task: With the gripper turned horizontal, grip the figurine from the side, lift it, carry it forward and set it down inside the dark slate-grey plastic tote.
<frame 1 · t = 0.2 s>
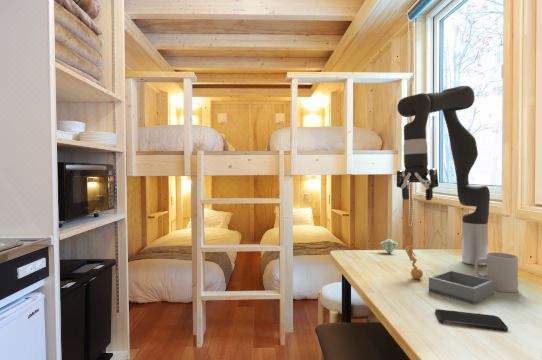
hand: (417, 199, 114), 29 cm above the table, tool pointing down, fingers open, 8 cm apart
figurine: (413, 279, 120), on the table
phone: (469, 323, 85), on the table
mug: (495, 288, 110), on the table
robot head: (389, 253, 159), on the table
tote: (460, 292, 105), on the table
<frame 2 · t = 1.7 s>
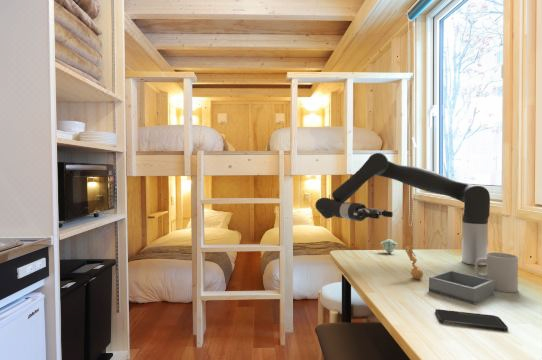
hand: (385, 215, 129), 22 cm above the table, tool horizontal, fingers open, 8 cm apart
nothing on the table moved.
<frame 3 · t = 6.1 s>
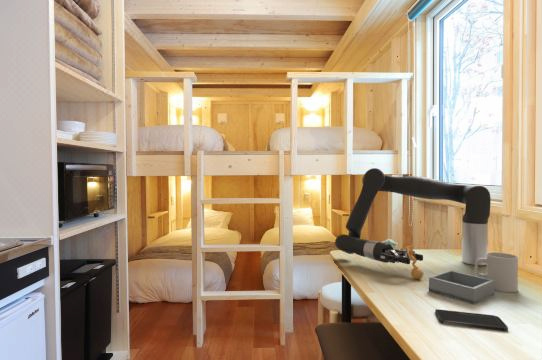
hand: (416, 259, 119), 7 cm above the table, tool horizontal, fingers closed on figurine, 7 cm apart
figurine: (413, 278, 120), on the table, touching gripper
everything else where it was.
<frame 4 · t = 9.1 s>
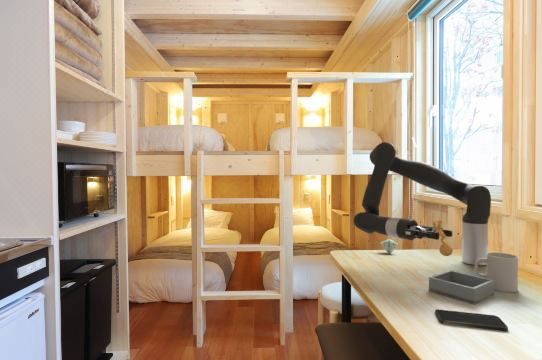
hand: (445, 235, 109), 18 cm above the table, tool horizontal, fingers closed on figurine, 7 cm apart
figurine: (442, 256, 110), point 10 cm above the table, touching gripper
everything else where it was.
when the fingers open (10 cm above the table, at t = 12.2 s): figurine drops 1 cm, resting on tote.
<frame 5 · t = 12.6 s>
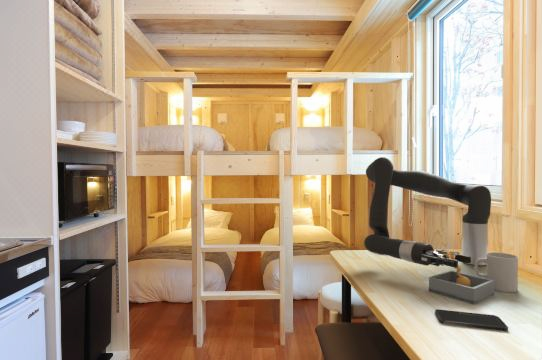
hand: (464, 262, 104), 10 cm above the table, tool horizontal, fingers open, 8 cm apart
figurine: (460, 289, 105), point 1 cm above the table, touching gripper, tote
everything else where it was.
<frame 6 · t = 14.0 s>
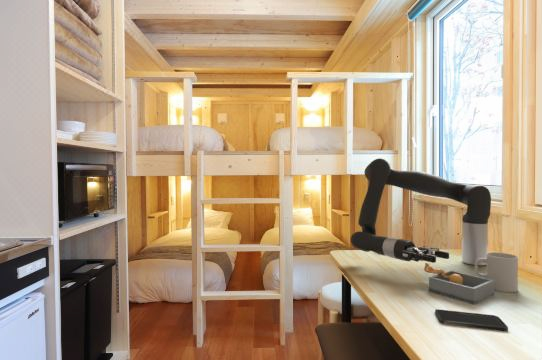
hand: (442, 257, 110), 10 cm above the table, tool horizontal, fingers open, 8 cm apart
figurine: (460, 287, 106), point 2 cm above the table, touching tote
everything else where it was.
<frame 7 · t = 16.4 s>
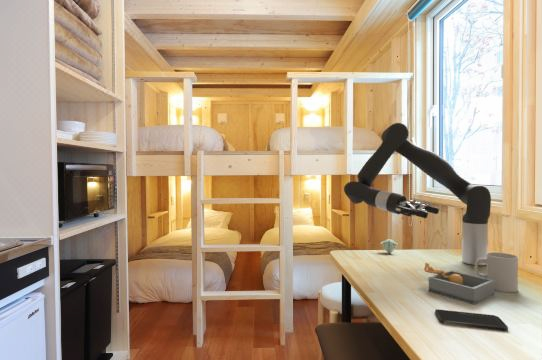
hand: (432, 213, 115), 24 cm above the table, tool horizontal, fingers open, 8 cm apart
nothing on the table moved.
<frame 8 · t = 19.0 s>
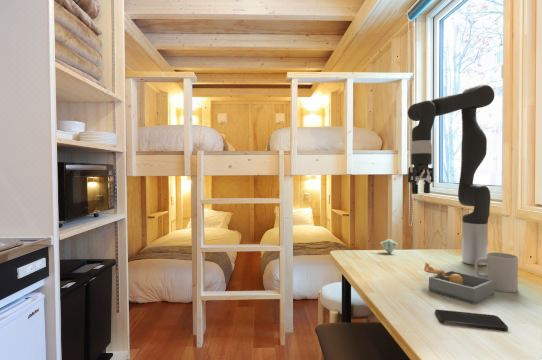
hand: (421, 193, 131), 30 cm above the table, tool pointing down, fingers open, 8 cm apart
nothing on the table moved.
at the end: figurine inside the target area on the tote (0.6 cm from its centre), point 1.5 cm above the tote's base; the gripper is holding nothing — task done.
